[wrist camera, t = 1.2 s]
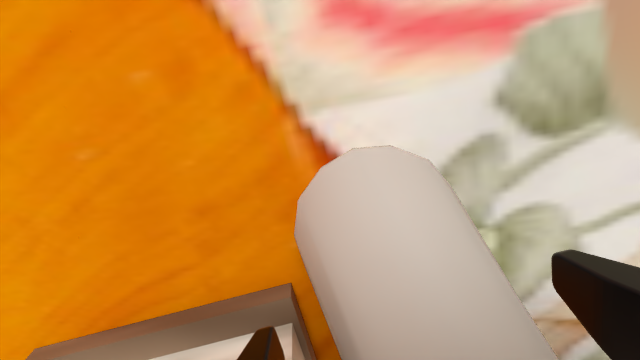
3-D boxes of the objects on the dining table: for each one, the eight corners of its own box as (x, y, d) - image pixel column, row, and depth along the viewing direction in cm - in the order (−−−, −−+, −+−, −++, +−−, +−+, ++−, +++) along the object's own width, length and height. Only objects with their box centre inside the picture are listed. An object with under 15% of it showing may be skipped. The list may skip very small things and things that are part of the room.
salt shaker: (300, 266, 15) (325, 1055, 3) (286, 139, 14) (223, 869, 1) (430, 253, 16) (913, 936, 3) (434, 126, 14) (1519, 642, 2)
